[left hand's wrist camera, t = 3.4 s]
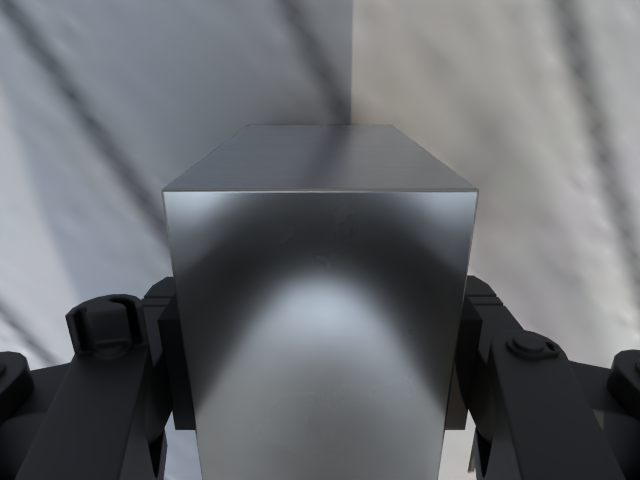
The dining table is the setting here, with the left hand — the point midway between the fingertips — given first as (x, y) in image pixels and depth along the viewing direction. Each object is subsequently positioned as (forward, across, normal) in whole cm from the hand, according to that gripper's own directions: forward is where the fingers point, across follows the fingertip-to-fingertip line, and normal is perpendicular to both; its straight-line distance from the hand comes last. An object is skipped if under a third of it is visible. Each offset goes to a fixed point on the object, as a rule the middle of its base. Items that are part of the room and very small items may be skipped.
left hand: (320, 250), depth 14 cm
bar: (+1, 0, -9) cm, 9 cm away
